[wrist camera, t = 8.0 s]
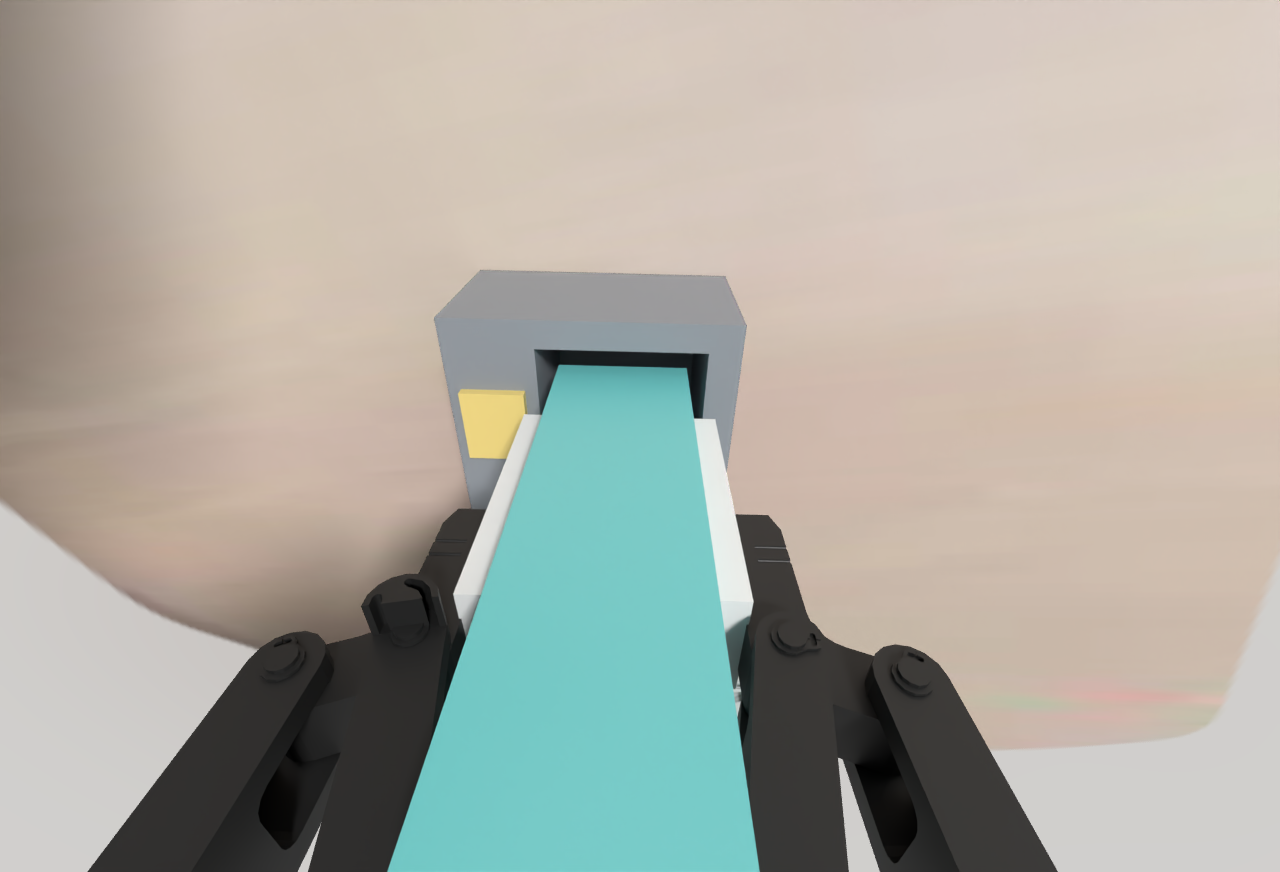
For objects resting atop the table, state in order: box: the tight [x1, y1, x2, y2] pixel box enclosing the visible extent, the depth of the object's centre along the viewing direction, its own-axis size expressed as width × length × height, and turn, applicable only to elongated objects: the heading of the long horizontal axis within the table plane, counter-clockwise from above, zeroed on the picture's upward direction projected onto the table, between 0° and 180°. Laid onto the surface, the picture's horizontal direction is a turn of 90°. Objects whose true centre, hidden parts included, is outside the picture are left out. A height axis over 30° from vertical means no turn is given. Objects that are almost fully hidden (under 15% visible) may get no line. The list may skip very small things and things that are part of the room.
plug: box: [387, 365, 760, 872], centre depth 12 cm, size 4×4×14 cm
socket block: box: [434, 270, 747, 509], centre depth 21 cm, size 13×9×5 cm
